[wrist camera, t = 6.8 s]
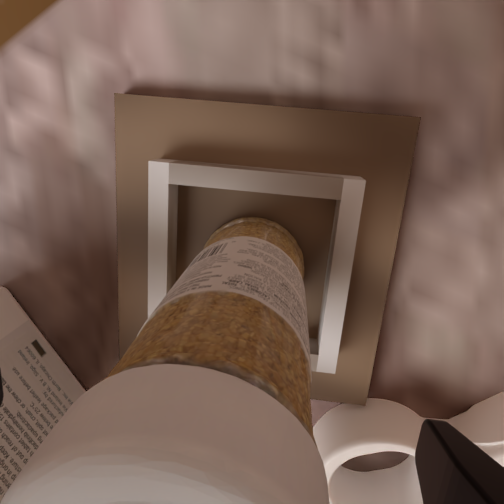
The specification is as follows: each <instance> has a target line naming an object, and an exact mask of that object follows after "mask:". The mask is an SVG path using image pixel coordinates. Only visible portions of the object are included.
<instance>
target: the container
mask: <svg viewBox="0 0 504 504" xmlns="http://www.w3.org/2000/svg"><path fill="white" fill-rule="evenodd" d="M0 368H1V376H2V384H3V393H4V397H3V402H2V404H1V406H0V503H1V501H2V499H3V497H4V495H5V493H6V492H7V490H8V489H9V487H10V486H11V484H12V483H13V481H14V480H15V478H16V477H17V476H18V474H19V473H20V472H21V470H22V469H23V468H24V466H25V465H26V463H27V462H28V461H29V459H30V458H31V457H32V455H33V454H34V453H35V451H36V450H37V448H38V447H39V446H40V444H41V443H42V442H43V441H44V439H45V438H46V437H47V435H48V434H49V433H50V432H51V430H52V429H53V428H54V426H55V425H56V424H57V423H58V421H59V420H60V419H61V418H62V417H63V415H64V414H65V413H66V412H67V410H68V409H69V408H70V407H71V405H72V404H73V403H74V402H75V401H76V400H77V399H78V398H79V397H80V396H81V395H82V394H84V393H85V392H86V391H85V389H84V388H83V387H82V386H81V384H80V383H79V382H78V380H77V379H76V378H75V376H74V375H73V374H72V373H71V371H70V370H69V369H68V367H67V366H66V365H65V363H64V362H63V361H62V360H61V358H60V357H59V356H58V354H57V353H56V352H55V350H54V349H53V348H52V346H51V345H50V344H49V343H48V341H47V340H46V339H45V337H44V336H43V335H42V333H41V332H40V331H39V330H38V328H37V327H36V326H35V324H34V323H33V322H32V320H31V319H30V318H29V317H28V315H27V314H26V313H25V311H24V310H23V309H22V307H21V306H20V305H19V304H18V302H17V301H16V300H15V298H14V297H13V296H12V294H11V293H10V292H9V291H8V289H6V288H5V287H2V286H1V287H0Z"/></svg>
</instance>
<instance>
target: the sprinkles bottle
mask: <svg viewBox="0 0 504 504" xmlns="http://www.w3.org/2000/svg"><path fill="white" fill-rule="evenodd" d="M303 278H304V261H303V254H302V251H301V249H300V247H299V246H298V244H297V242H296V240H295V239H294V237H293V236H292V235H291V234H290V233H289V232H288V230H286V229H285V228H283V227H282V226H281V225H279V224H278V223H276V222H273V221H270V220H267V219H264V218H257V217H246V218H239V219H235V220H232V221H231V222H229V223H226V224H224V225H223V226H222V227H221V228H219V229H217V230H216V231H215V232H214V233H213V234H212V235H211V236H210V238H209V240H208V241H207V243H206V244H205V246H204V249H203V250H202V251H201V252H200V253H199V254H198V255H197V256H196V257H195V259H194V260H193V261H192V263H191V264H190V265H189V266H188V268H187V269H186V270H185V271H184V273H183V274H182V275H181V276H180V278H179V279H178V280H177V282H176V283H175V284H174V285H173V287H172V288H171V289H170V291H169V292H168V293H167V294H166V296H165V297H164V298H163V300H162V301H161V302H160V304H159V305H158V306H157V308H156V309H155V310H154V311H153V313H152V314H151V315H150V317H149V318H148V319H147V321H146V322H145V323H144V325H143V326H142V328H141V330H140V331H139V333H138V335H137V337H136V339H135V340H134V341H133V342H132V344H131V345H130V346H129V348H128V349H127V351H126V352H125V354H124V355H123V357H122V358H121V360H120V361H119V362H118V364H117V365H116V366H115V367H114V368H113V369H112V370H111V372H110V373H109V375H108V377H107V378H105V379H104V380H102V381H101V382H99V383H98V384H96V385H94V386H93V387H92V388H90V389H89V390H88V391H86V392H85V393H84V394H82V395H81V396H80V397H79V398H78V399H77V400H76V401H75V402H74V403H73V404H72V405H71V407H70V408H69V409H68V410H67V412H66V413H65V414H64V415H63V417H62V418H61V419H60V420H59V421H58V423H57V424H56V425H55V426H54V428H53V429H52V430H51V432H50V433H49V434H48V435H47V437H46V438H45V439H44V441H43V442H42V443H41V444H40V446H39V447H38V448H37V450H36V451H35V453H34V454H33V455H32V457H31V458H30V459H29V461H28V462H27V463H26V465H25V466H24V468H23V469H22V470H21V472H20V473H19V474H18V476H17V477H16V478H15V480H14V481H13V483H12V484H11V486H10V487H9V489H8V490H7V492H6V493H5V495H4V497H3V499H2V501H1V503H0V504H330V503H329V493H328V483H327V477H326V473H325V468H324V463H323V460H322V458H321V456H320V453H319V451H318V448H317V445H316V442H315V439H314V436H313V427H312V414H311V403H310V386H311V382H312V373H311V359H310V346H309V333H308V318H307V307H306V295H305V288H304V282H303Z"/></svg>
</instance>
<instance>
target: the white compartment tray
mask: <svg viewBox="0 0 504 504" xmlns="http://www.w3.org/2000/svg"><path fill="white" fill-rule="evenodd" d="M425 419H434V418H423V417H421V416H419V415H418V414H417V413H415V412H414V411H413V410H411V409H410V408H408V407H406V406H404V405H402V404H399V403H397V402H394V401H390V400H386V399H379V398H367V401H366V406H362V405H354V404H346V403H342V404H340V405H338V406H336V407H334V408H332V409H331V410H329V411H328V412H327V413H325V414H324V415H323V416H322V417H321V418H320V419H319V420H318V422H317V423H316V424H315V426H314V427H313V436H314V439H315V442H316V445H317V448H318V451H319V453H320V456H321V458H322V460H323V463H324V468H325V473H326V477H327V483H328V493H329V503H330V504H423V499H422V494H421V489H420V484H419V479H418V474H417V469H416V464H415V451H416V447H417V442H418V438H419V434H420V430H421V426H422V423H423V421H424V420H425ZM435 420H443V421H446V422H448V423H449V424H451V425H452V426H453V427H454V428H456V429H457V430H458V431H459V432H461V433H462V434H463V435H464V436H465V437H467V438H468V439H469V440H470V441H472V442H473V443H474V444H475V445H477V446H478V447H479V448H480V449H482V450H483V451H484V452H485V453H487V454H488V455H489V456H490V457H492V458H493V459H494V460H495V461H497V462H498V463H499V464H500V465H501V466H503V467H504V391H503V392H501V393H499V394H496V395H494V396H492V397H490V398H488V399H485V400H483V401H481V402H479V403H477V404H475V405H473V406H472V407H471V408H470V409H469V410H468V411H466V412H464V413H461V414H459V415H457V416H455V417H453V418H450V419H435ZM384 451H397V452H403V453H407V454H410V455H409V457H408V458H407V459H406V460H404V461H403V462H402V463H400V464H398V465H396V466H394V467H391V468H386V469H381V470H375V471H368V472H359V471H353V470H349V469H347V468H344V467H342V466H341V464H343V463H344V462H346V461H347V460H349V459H351V458H354V457H357V456H361V455H366V454H372V453H378V452H384Z"/></svg>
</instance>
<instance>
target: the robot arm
mask: <svg viewBox="0 0 504 504" xmlns="http://www.w3.org/2000/svg"><path fill="white" fill-rule="evenodd" d="M3 397H4V393H3V384H2V376H1V368H0V406H1V404H2V402H3ZM415 464H416V469H417V474H418V479H419V484H420V489H421V494H422V499H423V504H504V467H503V466H501V465H500V464H499V463H498V462H497V461H495V460H494V459H493V458H492V457H490V456H489V455H488V454H487V453H485V452H484V451H483V450H482V449H480V448H479V447H478V446H477V445H475V444H474V443H473V442H472V441H470V440H469V439H468V438H467V437H465V436H464V435H463V434H462V433H461V432H459V431H458V430H457V429H456V428H454V427H453V426H452V425H451V424H449V423H448V422H446V421H443V420H435V419H425V420H424V421H423V423H422V426H421V430H420V434H419V438H418V442H417V447H416V451H415Z"/></svg>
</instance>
